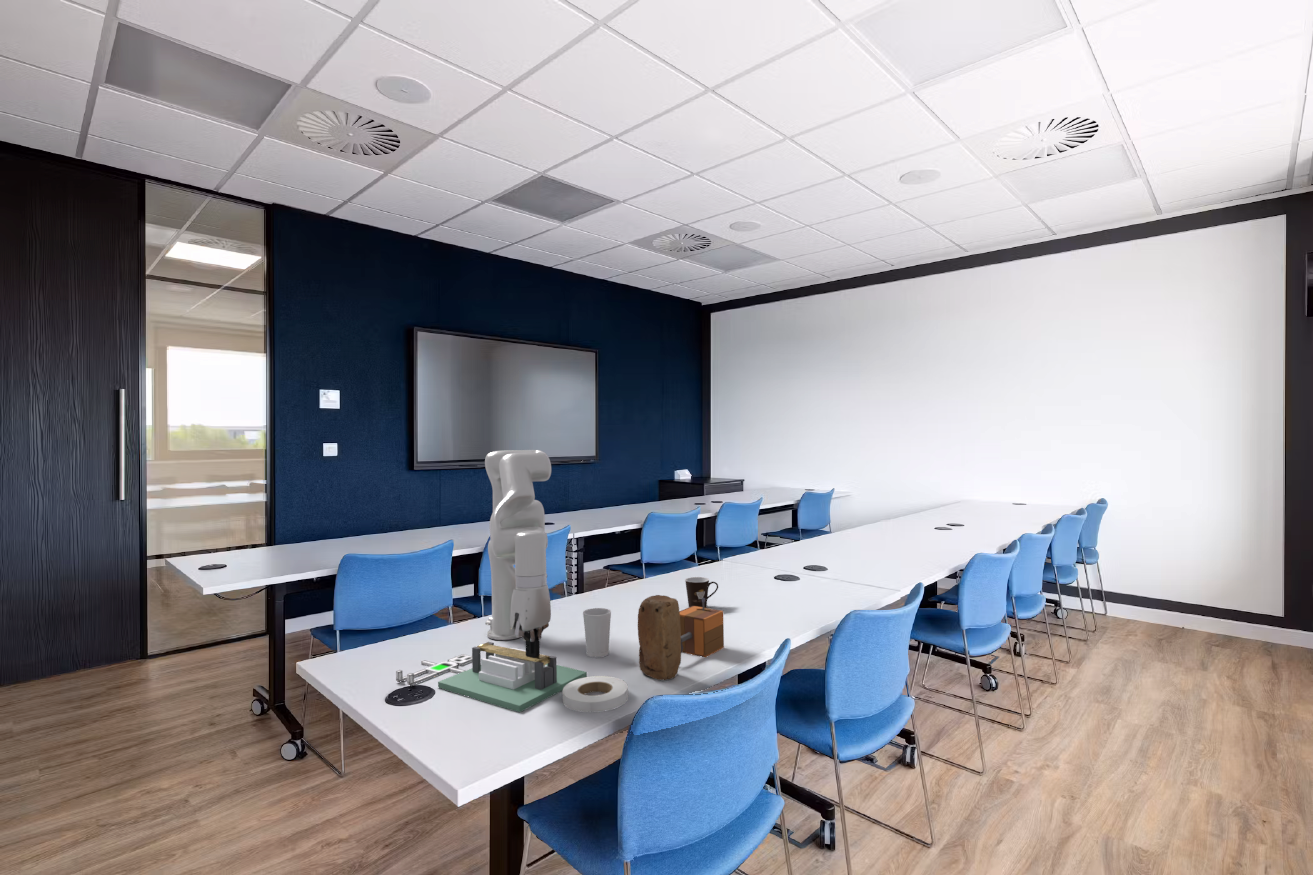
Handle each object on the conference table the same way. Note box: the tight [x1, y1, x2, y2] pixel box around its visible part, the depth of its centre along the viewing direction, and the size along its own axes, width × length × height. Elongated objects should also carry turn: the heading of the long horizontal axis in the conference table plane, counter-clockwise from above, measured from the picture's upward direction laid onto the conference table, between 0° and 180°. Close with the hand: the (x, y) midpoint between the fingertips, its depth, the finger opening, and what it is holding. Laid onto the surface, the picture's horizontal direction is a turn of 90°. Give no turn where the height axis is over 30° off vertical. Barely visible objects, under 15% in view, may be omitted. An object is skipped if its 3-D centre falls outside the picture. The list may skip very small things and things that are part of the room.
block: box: [637, 594, 682, 681], centre depth 165 cm, size 11×8×20 cm
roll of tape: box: [562, 675, 629, 713], centre depth 151 cm, size 16×15×3 cm
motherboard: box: [437, 641, 588, 713], centre depth 161 cm, size 28×24×8 cm
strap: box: [476, 642, 551, 665], centre depth 162 cm, size 23×3×2 cm, turn 57°
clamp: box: [679, 598, 725, 658], centre depth 180 cm, size 11×20×14 cm, turn 144°
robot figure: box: [395, 653, 472, 687], centre depth 171 cm, size 16×3×22 cm
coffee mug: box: [684, 576, 719, 608], centre depth 230 cm, size 12×9×10 cm
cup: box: [582, 607, 612, 659], centre depth 182 cm, size 8×8×12 cm
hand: (532, 655), depth 157 cm, fingers closed
